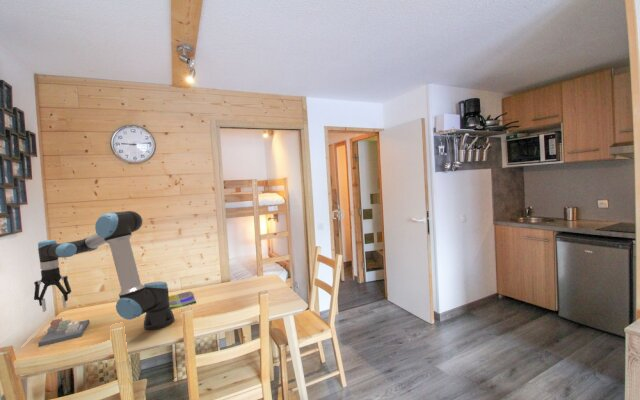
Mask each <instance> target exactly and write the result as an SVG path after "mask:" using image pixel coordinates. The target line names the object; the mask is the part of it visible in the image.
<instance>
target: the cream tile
mask: <svg viewBox="0 0 640 400" xmlns="http://www.w3.org/2000/svg"><path fill="white" fill-rule="evenodd" d="M79 322H80V320H76V321H71V323H69V324H68V331H71V330H75V329H78V328H79V326H80V324H79Z"/></svg>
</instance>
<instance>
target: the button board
mask: <svg viewBox="0 0 640 400" xmlns="http://www.w3.org/2000/svg"><path fill="white" fill-rule="evenodd" d="M79 324H80V326H79V328H78V329H75V330H71V331H68V328H64V329H60V330H59V326H58V327H54V328H51V325H50V326H49V327H48V328H47V332H46V334H44V336H42V338H41V339H40V341H38V343H37V344H38V347H39V348H40V347H44V346H49V345H52V344H56V343H60V342H64V341H69V340H73V339H76V338H81V337H82V336H83V335H84V333H85V331H86V330H87V328H88V326H89V325H90V319H85V320H81V321H80V320H79Z"/></svg>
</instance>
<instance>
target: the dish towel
mask: <svg viewBox="0 0 640 400" xmlns="http://www.w3.org/2000/svg"><path fill="white" fill-rule="evenodd" d="M196 301H197V300H196V299H195V295H194V293H193V292H192V291H190V290H188V291H186V292H181V293H177V294H173V295H169V305H170V309H171V310H175V309H180V308H183V307H188V306H191V305H195V304H196Z"/></svg>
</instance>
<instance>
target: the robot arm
mask: <svg viewBox="0 0 640 400" xmlns="http://www.w3.org/2000/svg"><path fill="white" fill-rule="evenodd" d="M94 226H95V227H94V230H95V233H93V234H91V235H89V236H87V237H86V238H83V239H78V240H74V241H69V242H62V243H57V240H56V239H48V240H42V241H39V242H37V251H38V257H39V266H40V274H41V279H40V280H36V281H34V285H35V287H34V297H33V300H34V301H38V303H39V304H38V305H39V307H41V309H42V312H43V313H44V312H46V311H47V303H46V298H44V296H45V294H46V292H47V290H48V287H51V286H56V288H57V289H58V290H59V291H60V292H61V294H62V296H61V298H62V299H61V300H62V308H64V309H65V308H66V307H67V302H68V300H69V298H68V297H69V296H68V295H70V294H71V293H72V289H71V286H70V284H69V280H68V279H69V277H68V275H65V276H63V275H61V271H60V267H59V266H60V265H59V264H60V262H59V258H64V259H66V258H70V257H73V256H75V255H79V254H83V253H87V252H92V251H95V250H97V249H98V248H99V247H100V246H102V245H104V244H108V245H109V248H110V250H111V254H112V255H111V256H112V258H113V259H112V260H113V262H114V266H115V271H116V274H117V278H118V282H119V286H120V292H119V294H118V297H119V299H118V300H117V301H116V304H115V310H116V313H117V314H118V315H119V317H121V318H123V319H125V320H129V321H130V320H134V319H136V318H139V317H140V316H142V315H143V314H145V316H144V320H143V322H142V323H143V325H142V326H143V329H144V330H147V331H151V330H152V331H153V330H154V331H155V330H158V329H162V328H165V327H168V326H169V325H171V324H173V323H174V322H175V315H174V313H173V311H172V309H170V305H169V296H170V295H169V287H168V283H167V282H166V281H152V282H148V283H144V284H142V283H141V279H140V275H139V271H138V268H137V264H136V259H135V257H134V252H133V248H132V244H131V241H130V239H131V237H132V236H133V235H132V234H133V233H135V232H137V231H138V230H139V229H140V228H142V227H143V218H142V216H141V214H140V213H138V212H136V211H133V210H127V211H117V212H114V211H113V212H108V213H104V214H102V215H100V216H98V218H97V220H96V221H95V225H94ZM60 281H63V283H64V286H63V285H62V283H61V282H60ZM41 283H42V284H44V285H43V288H42V290H41V293H40V287H41Z"/></svg>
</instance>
